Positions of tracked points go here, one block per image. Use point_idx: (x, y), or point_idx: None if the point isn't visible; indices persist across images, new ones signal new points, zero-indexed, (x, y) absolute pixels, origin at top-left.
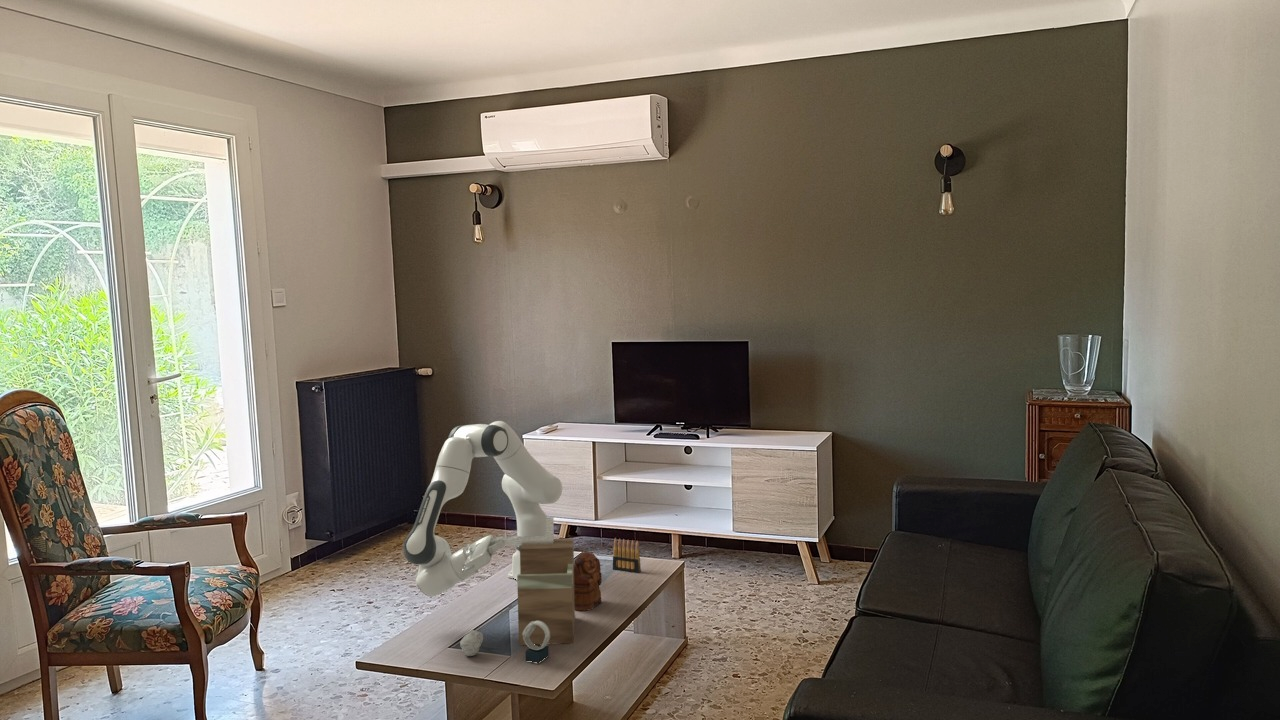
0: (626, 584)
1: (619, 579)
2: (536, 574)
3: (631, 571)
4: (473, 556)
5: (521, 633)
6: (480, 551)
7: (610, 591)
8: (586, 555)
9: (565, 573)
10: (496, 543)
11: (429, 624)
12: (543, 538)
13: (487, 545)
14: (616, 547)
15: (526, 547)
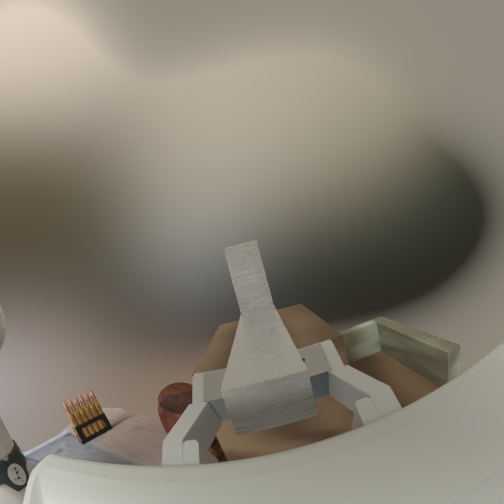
0: (142, 437)
1: (120, 442)
2: (417, 336)
3: (104, 431)
4: (496, 492)
5: None
6: (473, 423)
7: (159, 450)
8: (187, 384)
9: (378, 322)
10: (346, 365)
11: None
12: (270, 307)
13: (349, 432)
14: (71, 413)
15: (315, 335)
